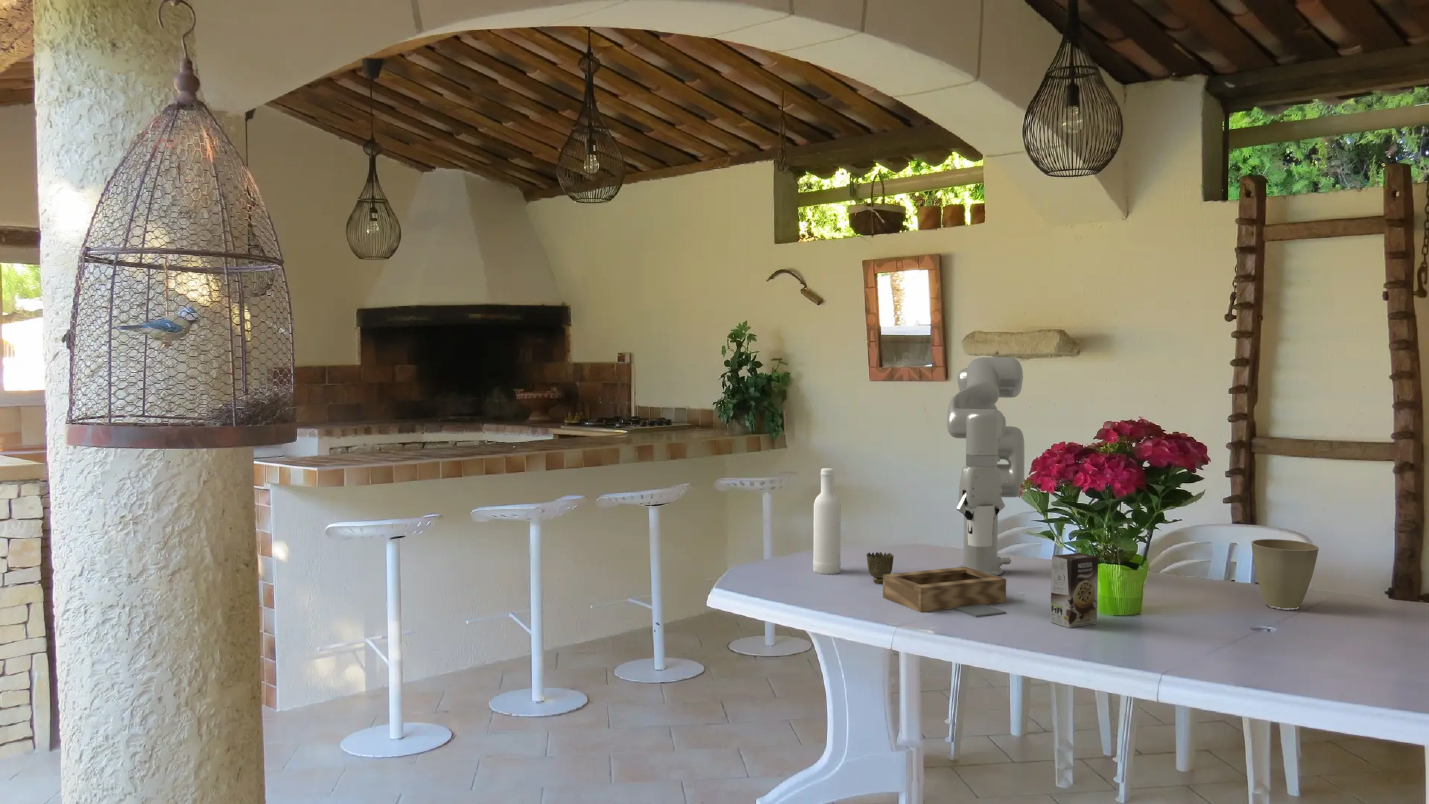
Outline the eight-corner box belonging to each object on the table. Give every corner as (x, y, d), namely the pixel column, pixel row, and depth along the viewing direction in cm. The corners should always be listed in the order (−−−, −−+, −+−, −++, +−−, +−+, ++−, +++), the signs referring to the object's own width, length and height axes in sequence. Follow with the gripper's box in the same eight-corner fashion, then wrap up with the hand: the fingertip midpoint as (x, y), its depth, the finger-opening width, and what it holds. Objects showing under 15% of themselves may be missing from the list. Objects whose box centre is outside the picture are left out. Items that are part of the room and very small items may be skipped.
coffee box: (1069, 628, 251) (1071, 559, 250) (1049, 622, 257) (1050, 554, 256) (1098, 624, 255) (1099, 556, 255) (1077, 618, 261) (1078, 551, 260)
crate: (964, 588, 293) (965, 566, 292) (1005, 602, 277) (1006, 578, 277) (882, 597, 282) (883, 574, 282) (920, 612, 267) (920, 588, 266)
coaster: (983, 605, 274) (983, 603, 274) (1006, 613, 265) (1006, 611, 265) (953, 608, 270) (953, 607, 270) (976, 617, 262) (976, 615, 262)
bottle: (821, 567, 320) (822, 466, 319) (845, 570, 316) (846, 468, 314) (808, 572, 314) (808, 469, 312) (831, 575, 309) (832, 471, 308)
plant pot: (1241, 607, 271) (1243, 544, 271) (1260, 597, 282) (1261, 536, 281) (1307, 617, 261) (1309, 552, 260) (1324, 607, 272) (1325, 544, 271)
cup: (895, 585, 296) (895, 556, 296) (868, 585, 296) (868, 556, 296) (891, 580, 304) (891, 551, 303) (865, 579, 304) (865, 551, 303)
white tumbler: (963, 545, 266) (963, 505, 265) (970, 541, 271) (970, 501, 271) (990, 548, 262) (990, 507, 262) (996, 543, 268) (997, 503, 268)
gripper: (999, 459, 273) (998, 531, 274) (944, 461, 266) (943, 536, 267) (1018, 461, 266) (1017, 536, 267) (963, 465, 259) (962, 541, 260)
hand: (980, 535), depth 267 cm, fingers closed on white tumbler, 3 cm apart
